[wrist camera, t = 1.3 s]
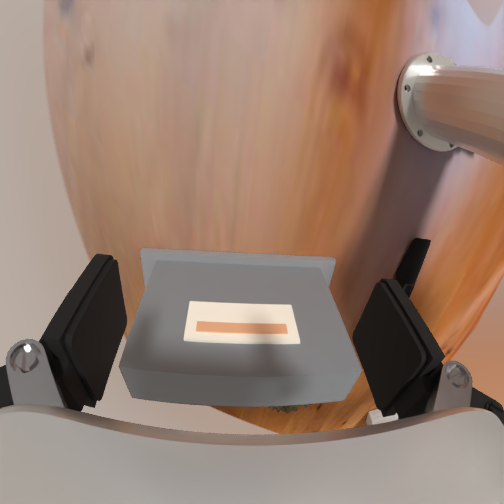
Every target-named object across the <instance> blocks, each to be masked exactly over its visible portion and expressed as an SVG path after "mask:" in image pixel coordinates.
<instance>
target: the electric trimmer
mask: <svg viewBox="0 0 504 504" xmlns="http://www.w3.org/2000/svg"><path fill="white" fill-rule="evenodd" d="M430 242H431V240H428V239H420V238H415V239H414V240H413V242H412V244H411V246H410V248H409V250H408V252H407V254H406V256H405V258H404V259H403V261H402V263H401V265H400V267H399V269H398V271H397V273H396V277H397V281H398V283H399V284H400V286H401V287H402V289H403V290H404V291H405V293H406V294H407V296H408V297H410V295H411V292H412V290H413V288H414V285H415V282H416V279H417V276H418V274H419V272H420V269H421V267H422V264H423V261H424V259H425V256H426V254H427V251H428V248H429V245H430Z"/></svg>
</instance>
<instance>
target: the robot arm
mask: <svg viewBox="0 0 504 504" xmlns="http://www.w3.org/2000/svg"><path fill="white" fill-rule="evenodd" d="M404 87H405V89H404ZM398 105H399V110H400V113H401V117H402V119H403V122H404V124H405V126H406V128H407V129H408V131H409V132H410V134H411V135H412V136H413V137H414V138H415V139H416V140H417V141H418V142H419V143H420V144H422V145H423V146H425V147H427V148H430V149H432V150H435V151H442V152H445V151H450V150H453V149H455V148H457V147H461V148H463V149H466V150H468V151H471V152H473V153H476V154H478V155H480V156H483V157H485V158H487V159H489V160H492V161H494V162H496V163H498V164H500V165H502V166H504V68H496V67H484V66H467V65H456V64H455V63H454V62H453V61H452V60H450V59H449V58H447V57H445V56H443V55H440V54H435V53H425V54H420V55H417V56H416V57H414V58H412V59H411V60H410V61H409V62H408V63H407V64H406V65H405V67H404V69H403V70H402V72H401V75H400V78H399V83H398ZM126 325H127V315H126V310H125V305H124V299H123V293H122V287H121V281H120V275H119V268H118V262H117V260H114V259H113V257H112V256H111V255H104V254H96V255H95V256H94V257H93V259H92V260H91V261H90V263H89V264H88V266H87V267H86V269H85V270H84V272H83V273H82V274H81V276H80V277H79V279H78V280H77V282H76V283H75V285H74V286H73V288H72V289H71V290H70V291H69V293H68V294H67V296H66V297H65V299H64V300H63V302H62V304H61V305H60V307H59V308H58V310H57V312H56V313H55V315H54V317H53V318H52V320H51V322H50V323H49V325H48V327H47V329H46V330H45V332H44V334H43V335H42V337H41V339H40V341H39V342H38V341H36V340H33V339H25V340H21V341H19V342H17V343H16V344H14V345H13V346H12V347H11V348H10V350H9V351H8V353H7V356H6V365H4V366H2V367H0V504H504V410H503V407H502V405H501V404H500V403H498V402H497V401H496V400H494V399H492V398H490V397H488V396H487V395H485V394H483V393H482V392H480V391H478V390H476V389H475V388H473V387H472V377H471V374H470V372H469V371H468V369H467V368H466V367H465V366H464V365H462V364H461V363H459V362H457V361H447V362H446V363H445V364H444V365H443V364H442V362H441V361H442V360H443V359H444V357H445V355H444V354H443V352H442V350H441V348H440V347H439V345H438V343H437V342H436V340H435V338H434V337H433V335H432V333H431V332H430V330H429V328H428V327H427V325H426V324H425V322H424V320H423V319H422V317H421V316H420V314H419V313H418V311H417V309H416V308H415V306H414V305H413V303H412V302H411V300H410V299H409V297H408V296H407V294H406V293H405V291H404V290H403V289H402V287H401V286H400V284H399V283H398V281H397V280H394V279H381V280H380V282H378V283H377V284H376V285H375V287H374V289H373V292H372V294H371V296H370V298H369V301H368V303H367V305H366V307H365V309H364V312H363V314H362V316H361V318H360V320H359V322H358V324H357V326H356V328H355V330H354V332H353V343H354V345H355V348H356V350H357V353H358V356H359V358H360V361H361V364H362V366H363V369H364V372H365V375H366V377H367V380H368V383H369V386H370V389H371V392H372V394H373V397H374V400H375V403H376V406H377V408H378V410H381V413H382V416H383V417H387V416H392V415H395V414H396V413H397V415H398V419H397V420H395V421H390V422H385V423H380V424H374V425H368V426H362V427H356V428H349V429H341V430H333V431H323V432H312V433H299V434H276V435H238V434H215V433H202V432H191V431H182V430H173V429H166V428H159V427H152V426H146V425H141V424H135V423H129V422H124V421H119V420H114V419H110V418H105V417H101V416H96V415H92V414H89V413H84V412H81V411H82V409H83V406H84V405H86V406H89V407H94V408H95V405H96V401H97V400H98V401H100V400H101V399H102V396H103V393H104V390H105V386H106V383H107V380H108V377H109V374H110V371H111V368H112V365H113V362H114V359H115V356H116V353H117V350H118V347H119V345H120V342H121V339H122V336H123V334H124V331H125V328H126Z"/></svg>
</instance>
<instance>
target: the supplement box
mask: <svg viewBox="0 0 504 504" xmlns="http://www.w3.org/2000/svg"><path fill="white" fill-rule="evenodd" d="M397 419H398V415H397V413H396V414H395V415H392V416H387V417H383V416H382V413H381V410H378V409H375V410H372V411H369V412H368V415H367V419H366V423H367V426H368V425H374V424H380V423H385V422H390V421H395V420H397Z"/></svg>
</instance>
